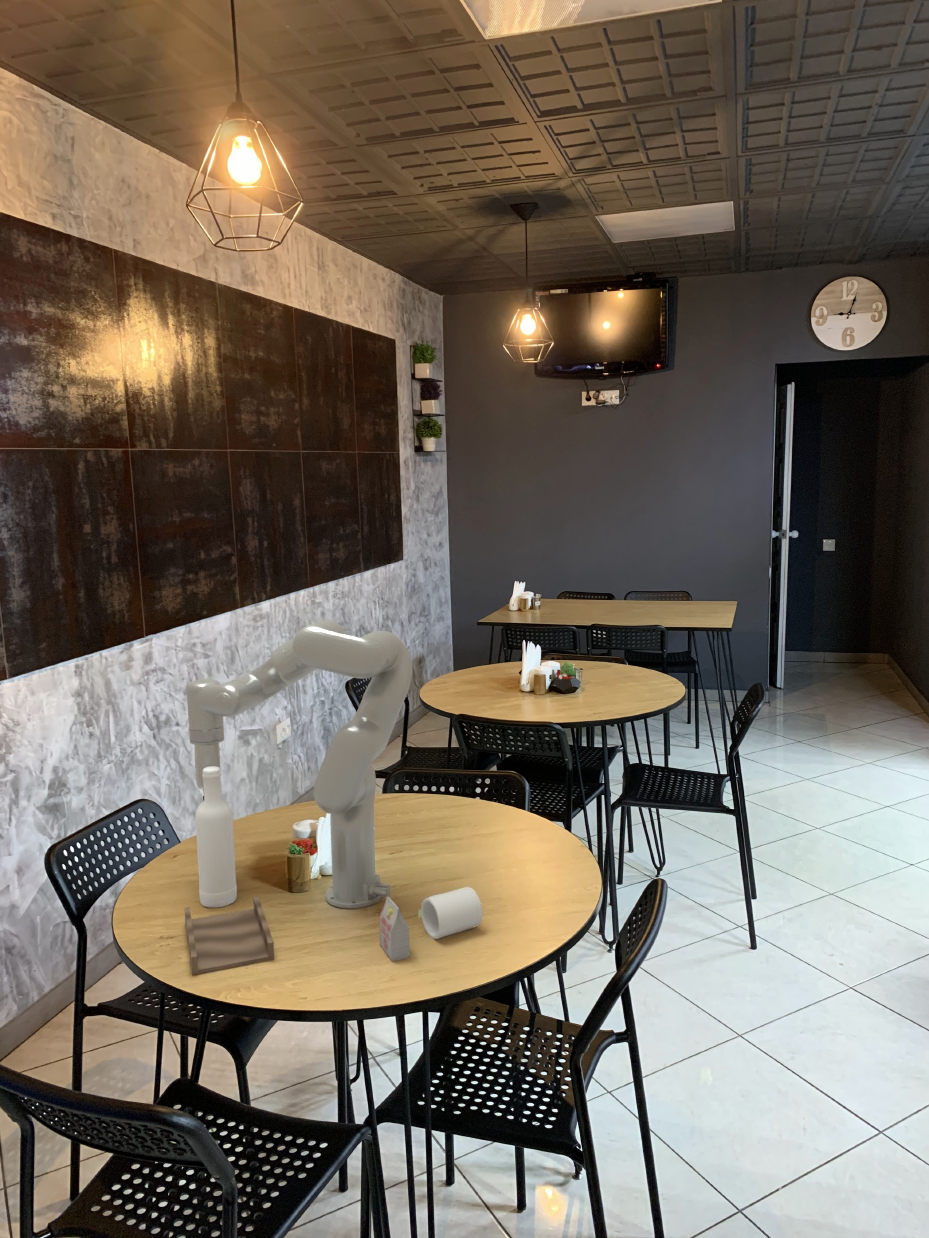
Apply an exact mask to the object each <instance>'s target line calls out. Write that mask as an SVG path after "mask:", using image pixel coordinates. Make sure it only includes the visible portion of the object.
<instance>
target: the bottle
mask: <svg viewBox="0 0 929 1238" xmlns="http://www.w3.org/2000/svg"><path fill="white" fill-rule="evenodd" d="M202 777H203V783H204V791H203V796H204V801H203V800H202V802H201V803H200V804H199V805H198V807H197V810H196V814H195V816H194V817H195V818H194V819H195V829H196V830H195V833H196V849H197V851H196V852H197V868H198V872H197V873H198V885H199V887H198V895H199V902H200V904H201V905H202V906H203V907H206V908H210V909H211V908H212V909H215V908H216V909H217V908H223V907H226V906H229V905H232V904H233V903H234V902H235V901H236V900H237V897H238V895H237V894H238V893H237V892H238V887H237V877H236V859H235V858H236V857H235V856H236V855H235V838H234V835H235V834H234V820H233V819H234V818H233V811H232V808H231V806H230V804H229V802H227V801H226V800H225V799H223V798H222V796H223V795H222V781H221V779H222V773H221V767H220V768H219V767H217V766H210V767H206V768H204V769H203V774H202Z"/></svg>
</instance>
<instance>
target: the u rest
mask: <svg viewBox="0 0 929 1238" xmlns="http://www.w3.org/2000/svg"><path fill="white" fill-rule="evenodd" d="M252 899H253V900H252V901H253V908H249V909H244V910H242V909H241V910H237V911H233V912H232V911H231V912H225V913H220V914H215V915H214V914H212V915H208V916H202V917H196V918H192V915H191V908H190V907H184V922H185V930H186V937H187V945H188V953H189V960H190V967H191V975H192V976H195V975H200V974H206V973H212V972H217V971H221V970H227V969H231V968H238V967H243V966H248V965H254V964H258V963H264V962H267V961H275V947H274V946H275V945H274V944H275V942H274V940H273V937H272V934H271V930H270V927H269V925H268V922H267V919H266V916H265V912H264V909H263V906H262V904H261V901H260V898H259V895H254V896H252Z"/></svg>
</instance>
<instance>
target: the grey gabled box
mask: <svg viewBox="0 0 929 1238" xmlns="http://www.w3.org/2000/svg"><path fill="white" fill-rule="evenodd" d="M378 918H379V919H378V924H379V927H378V928H379V947H380V948H381V949H382V951H383V952H384V954H385V955H386V956H387V958H388V960H389V961H390V962H397V961H400V960H405V959H409V958H411V956H410V955H411V952H410V948H411V947H410V946H411V945H410V927H409V926H408V924H407V922H406V921H405V919H404V917H403V915H402V912H401V909H400V907H399V906H397V904H396V903H395V901H393V900H392V899H391V897H390V895H389V896H388V897H387V896H386V897H385V901H384V904H383V907H382V909H381V912H380V914H379V917H378Z"/></svg>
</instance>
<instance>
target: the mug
mask: <svg viewBox="0 0 929 1238" xmlns="http://www.w3.org/2000/svg"><path fill="white" fill-rule="evenodd" d="M482 906H483V905H482V902H481V900H480V897H479V895H478V893H477V892H476V891H475V889H473V888H472V887H470V886H464V887H461V888H458V889H454V890H451V891H448V892H444V893H439V894H434V895H433V894H432V895H431V896H429V897H426V898H424V899H423V900H422V902H421V907H420V916H421V921H422V924H423V927H424V930H425V932H426V933H427V935H428V936H429V937H430V938H431V939H434V940H438V939H441V938H444V937H447V936H450V935H454V934H457V933H460V932H463V931H467V930H470V929H473V928H476V927H479V926H480V925H481V923H482V921H483V913H484V912H483V907H482ZM477 925H478V926H477ZM474 926H475V927H474ZM471 927H472V928H471Z"/></svg>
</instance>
